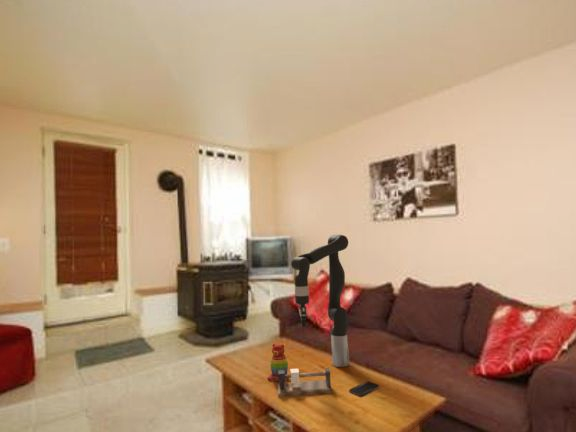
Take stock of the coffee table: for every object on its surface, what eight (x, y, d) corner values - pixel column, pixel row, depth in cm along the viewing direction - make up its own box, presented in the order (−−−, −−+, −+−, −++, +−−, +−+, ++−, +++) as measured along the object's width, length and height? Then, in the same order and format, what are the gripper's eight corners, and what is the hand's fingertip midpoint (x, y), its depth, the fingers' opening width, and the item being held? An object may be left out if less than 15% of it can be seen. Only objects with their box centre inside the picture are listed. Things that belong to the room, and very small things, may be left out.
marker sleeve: (298, 378, 175) (298, 368, 175) (299, 382, 170) (299, 372, 170) (290, 379, 175) (290, 368, 175) (291, 383, 170) (290, 372, 170)
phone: (347, 390, 168) (367, 380, 178) (348, 392, 168) (367, 383, 178) (360, 395, 162) (380, 385, 172) (361, 398, 162) (380, 387, 172)
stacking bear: (266, 380, 186) (264, 346, 187) (274, 373, 195) (273, 340, 196) (284, 383, 181) (282, 348, 182) (292, 375, 190) (290, 342, 191)
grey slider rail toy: (328, 382, 179) (327, 364, 180) (332, 393, 167) (331, 373, 168) (277, 386, 178) (277, 367, 178) (278, 397, 166) (277, 377, 166)
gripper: (310, 296, 182) (311, 327, 181) (307, 291, 196) (308, 320, 195) (295, 297, 182) (297, 328, 181) (294, 292, 196) (295, 321, 195)
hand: (303, 324), depth 188 cm, fingers open, 8 cm apart
